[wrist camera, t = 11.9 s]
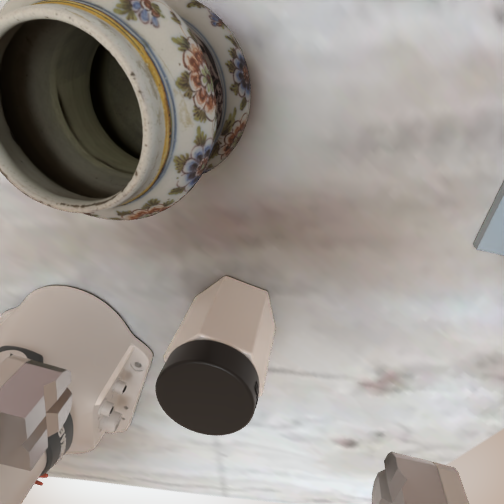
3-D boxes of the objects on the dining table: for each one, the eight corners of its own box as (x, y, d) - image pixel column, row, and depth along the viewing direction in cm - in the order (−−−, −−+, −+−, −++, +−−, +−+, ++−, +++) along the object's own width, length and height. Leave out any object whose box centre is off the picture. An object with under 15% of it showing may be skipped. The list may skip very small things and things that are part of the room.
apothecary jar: (236, -29, 29) (118, -115, 13) (280, 139, 33) (233, 226, 18) (94, 29, 32) (-138, 17, 16) (152, 173, 37) (17, 272, 21)
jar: (231, 355, 45) (200, 450, 35) (180, 305, 43) (131, 390, 33) (293, 318, 41) (280, 412, 31) (241, 261, 39) (208, 342, 29)
